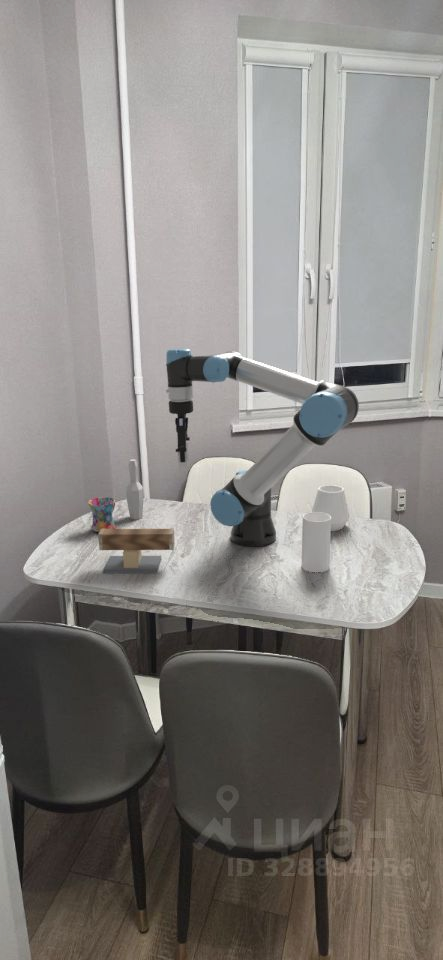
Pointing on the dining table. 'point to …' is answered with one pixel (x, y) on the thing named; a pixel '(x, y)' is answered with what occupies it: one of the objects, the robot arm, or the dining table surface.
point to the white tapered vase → (332, 505)
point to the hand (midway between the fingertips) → (184, 466)
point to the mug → (102, 513)
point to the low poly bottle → (134, 492)
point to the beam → (136, 539)
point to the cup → (316, 542)
